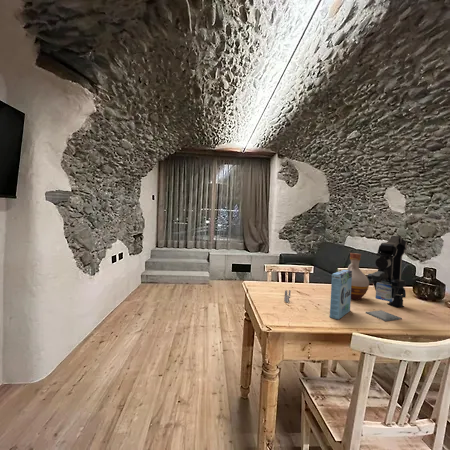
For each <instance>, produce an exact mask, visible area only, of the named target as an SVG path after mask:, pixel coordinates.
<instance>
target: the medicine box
mask: <svg viewBox="0 0 450 450" xmlns="http://www.w3.org/2000/svg"><path fill="white" fill-rule="evenodd" d="M390 285H392V284H389V283H387V282H382V281H381V282H378V283H376V290H375V299H376V300H381V301H386V302H388V303H389V302H392V301H393V300H394V298H392V296H391V294H392V288H391V286H390Z"/></svg>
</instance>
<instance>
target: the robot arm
mask: <svg viewBox="0 0 450 450" xmlns="http://www.w3.org/2000/svg"><path fill="white" fill-rule="evenodd" d="M407 250H408V243H407V241H406V240H404V238H402V236H400V235H399V236H398V235H392V236H390V239H388V240H387V241H386V242H382V243H380V245H379V247H378V250H377V254H376V256H378V257H379V258H377V259H376V260H375V266H376V267H377V268H378V269H377V271H374V272H373V273H368V274H367V276H366V277H367V278H368V280H369V282H371V283H372V284H373V287H374V290H375V291H376V283H378V282H381V283H382V281H383V282H385V283H388V284H392V285H390V286H391V288H392V294H391V296H392V298H394V300H393V301H392V302H389V301H388V303H386V304H387V305H389V306H391V307H395V308H403V307H405V306H404V299H405V298H406V297H407V296H406V294H407V293H406V289H405V287H406V286H407V283H406V280H403V279H402V267H403V266H402V265H403V264H402V263H403V256H404V255H405V253H406V251H407Z"/></svg>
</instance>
